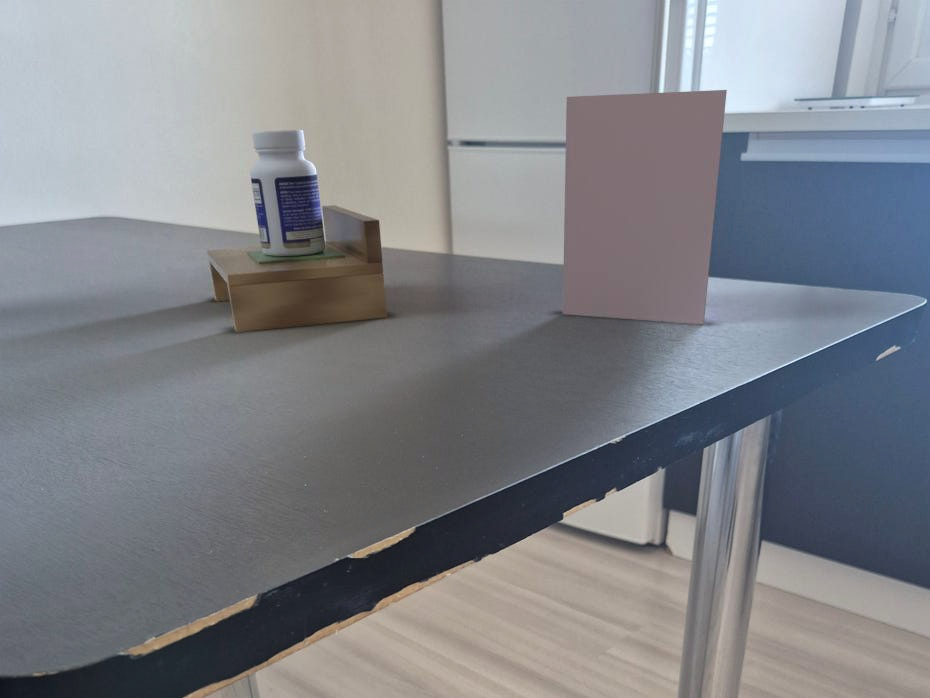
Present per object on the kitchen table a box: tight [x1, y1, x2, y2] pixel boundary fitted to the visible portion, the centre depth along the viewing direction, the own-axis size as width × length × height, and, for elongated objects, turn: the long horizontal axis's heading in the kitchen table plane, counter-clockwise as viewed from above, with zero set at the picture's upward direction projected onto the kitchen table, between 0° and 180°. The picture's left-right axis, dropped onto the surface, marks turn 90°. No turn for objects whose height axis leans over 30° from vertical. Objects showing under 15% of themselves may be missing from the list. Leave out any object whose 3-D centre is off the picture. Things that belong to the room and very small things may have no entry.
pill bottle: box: [249, 129, 326, 256], centre depth 71 cm, size 5×5×9 cm
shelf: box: [206, 204, 388, 333], centre depth 74 cm, size 12×16×7 cm
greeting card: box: [562, 89, 728, 325], centre depth 64 cm, size 11×7×15 cm, turn 26°
